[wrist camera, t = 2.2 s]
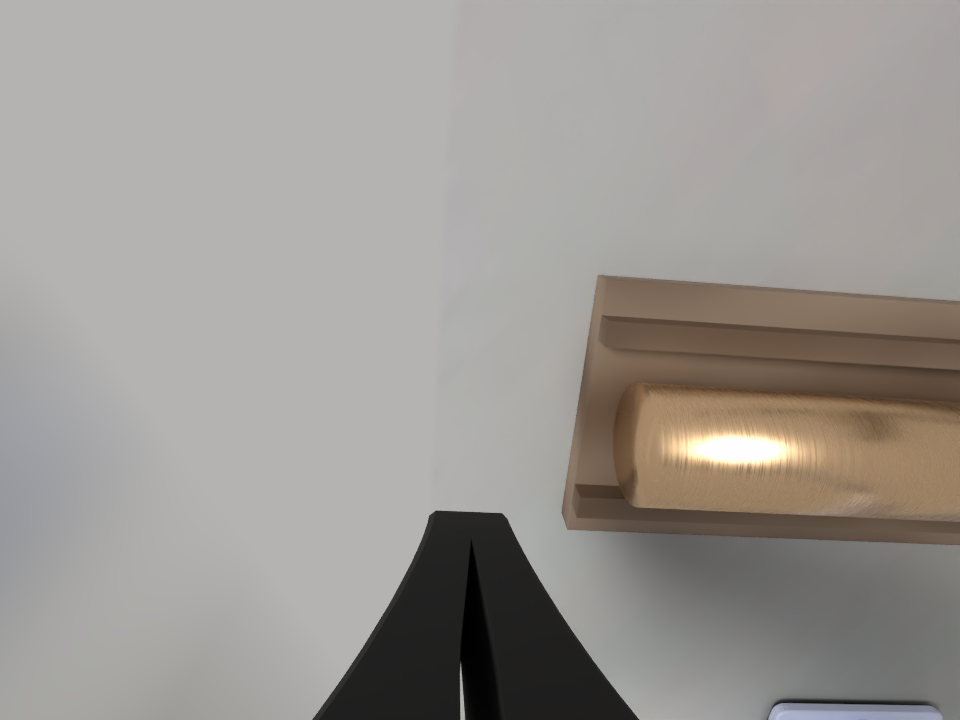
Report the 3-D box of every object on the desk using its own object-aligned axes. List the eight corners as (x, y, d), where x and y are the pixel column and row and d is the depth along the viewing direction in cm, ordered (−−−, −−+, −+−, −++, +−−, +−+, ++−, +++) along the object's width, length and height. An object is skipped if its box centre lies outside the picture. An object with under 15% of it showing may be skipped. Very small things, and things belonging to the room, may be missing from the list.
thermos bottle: (1084, 392, 16) (1265, 446, 12) (1035, 487, 17) (1188, 560, 13) (624, 364, 15) (674, 412, 11) (605, 465, 16) (646, 538, 12)
